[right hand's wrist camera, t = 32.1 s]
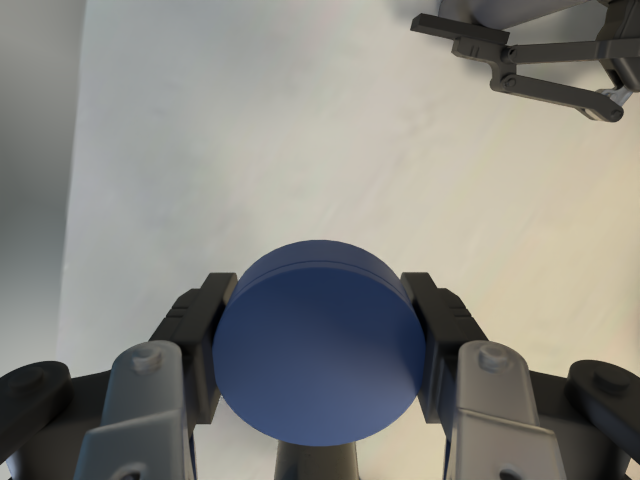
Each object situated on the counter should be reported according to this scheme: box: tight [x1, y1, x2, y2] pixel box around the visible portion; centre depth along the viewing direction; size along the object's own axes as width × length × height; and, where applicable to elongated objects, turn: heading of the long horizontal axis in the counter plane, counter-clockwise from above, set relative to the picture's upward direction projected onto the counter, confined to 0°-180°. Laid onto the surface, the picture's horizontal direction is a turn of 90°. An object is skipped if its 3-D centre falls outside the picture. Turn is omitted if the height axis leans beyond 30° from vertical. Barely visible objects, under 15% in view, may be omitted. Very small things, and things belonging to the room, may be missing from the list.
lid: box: [212, 240, 426, 446], centre depth 10 cm, size 5×5×2 cm
